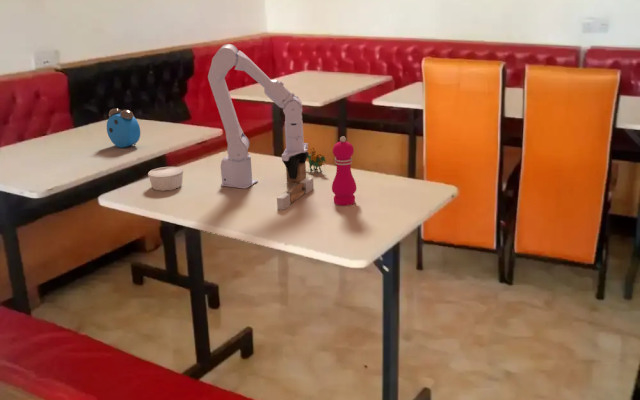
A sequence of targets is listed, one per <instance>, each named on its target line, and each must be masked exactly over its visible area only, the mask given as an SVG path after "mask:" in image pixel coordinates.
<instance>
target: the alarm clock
mask: <svg viewBox="0 0 640 400" xmlns="http://www.w3.org/2000/svg"><path fill="white" fill-rule="evenodd" d="M108 116H109V117H108V119H107V121H106V133H107V135H108V138H109V140H110V141H111V143H112V144H113V145H114V146H116V147H117V148H120V149H121V148H126V147H130V146H133V145H134V146H135V145H136V146H137V143H138V142H139V141H140V138H141V128H140V123H139V122H138V120H137V119H136V117H135V116H134V114H133V112H132V111H131V110H130V109H122V110H121V109H119V108H112V109H110V110H109V112H108Z"/></svg>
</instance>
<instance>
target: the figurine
mask: <svg viewBox="0 0 640 400" xmlns="http://www.w3.org/2000/svg"><path fill="white" fill-rule="evenodd" d="M309 153H310V154H309V155H308V157H307V159H308V164H309V171H310V172H313V171H316V173H320V172H323V170H322V168H321V167H323V166H325V164H324V163H326V162H327V161H326V157H325V155H324V154H322V153H321V152H319V153H317V151H316V150H315V147H313V146H311V148H310V152H309ZM312 167H313V169H312ZM318 169H319V170H318Z"/></svg>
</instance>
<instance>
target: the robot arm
mask: <svg viewBox="0 0 640 400" xmlns="http://www.w3.org/2000/svg"><path fill="white" fill-rule="evenodd" d="M210 63H211V65H210V66H209V70H208V75H207V79H208V82H209V86H210V89H211V92H212V95H213V97H214V101H215V103H216V108H217V109H218V113H219V116H220V119H221V122H222V125H223V128H224V131H225V138H226V143H227V149H226V151H227V156H224V157H222V159H221V162H220V174H221V176H220V177H221V183H220V186H222V187H229V188H236V189H237V188H238V189H247V188H249V187H251V186H253V185H254V184H256V183H258V179H253V172H252V157H251V156H252V155H251V154H250V153H249V151H248V150H249V148H250V140H249V138H248V137H247V136H246V134H244V131H243V129H242V127H241V125H240V122H239V119H238V116H237V112H236V110H235V107H234V103H233V101H232V97H231V95H230V91H229V87H228V85H227V82H226V79H225V78H226V77H227V74H228V73H229V71H230V70H232V68H233V67H234V66H235V67H234V70H235V71H241V72H244V73H246V74H247V75H249V76H250V77H251V78H252V79H253V80H254V81H256V82H257V83H258V84H259V85H260V86H261V87H263V88H264V89H263V90H264V92H263V93H264V94H265V96H267V98H269V99H270V100H271V101H272V102H273V103H274V104H275V105H276V106H278V108H280V109H282V111H283V114H284V120H285V121H284V135H285V150H284V151H283V153H282V154H281V161H282V163H283V164H284V166H285V169H286V168H287V171H288V174H289V177H290V179H296V178H297V168H298V163H306V161H307V159H308V158H307V157H308V155H309V153H310V152H308V149H309V143H307V142H304V123H303V122H304V121H303V114H302V113H303V103H302V101H301V99H300V98H299V96H297V95H296V94H295V93H294V92H291V91H289V90H288V88H287V87H285V86H284V85H285V83H284V82H283V81H282V80H281V81H279V80H278V79H271V78H270V77H269V76H268V75H267V74H266V73H265V72H264V71H263V70H262V69H261V68H260V67H259V66H258V65H257V64H255V62H254V61H252V59H251V58H250V57H248V55H246V54H245V53H244V51H241V50H238V48H237V47H236V46H235V45H233V44H230V43H228V44H227V43H225V44H223V45H221V47H220V48H219V49H218V50H217V51H216V53H215V54H214V56H213V57H212V58H211V62H210Z"/></svg>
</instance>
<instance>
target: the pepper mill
mask: <svg viewBox="0 0 640 400" xmlns="http://www.w3.org/2000/svg"><path fill="white" fill-rule="evenodd" d="M354 150H355V149H354V147H353V145H352V143H351V142H349V141H347V138H346V137H345V136H341V137H340V138H339V141H338V142H336V143H334V144H333V148H332V154H333V156H334V157H335V158H334V164H336V166H335V167H336V173H335V175H334V179H333V180H332V181H333V182H332V183H331V184H332V185H331V192H332V194H334V196H333V203H334V204H335V205H337V206H351V205H353V204H354V203H356V196H355V193H356V191H357V184H356V180H355V178H354V176H353V173H352V168H351V166H352V163H353V158H352V156H353V155H354Z"/></svg>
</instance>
